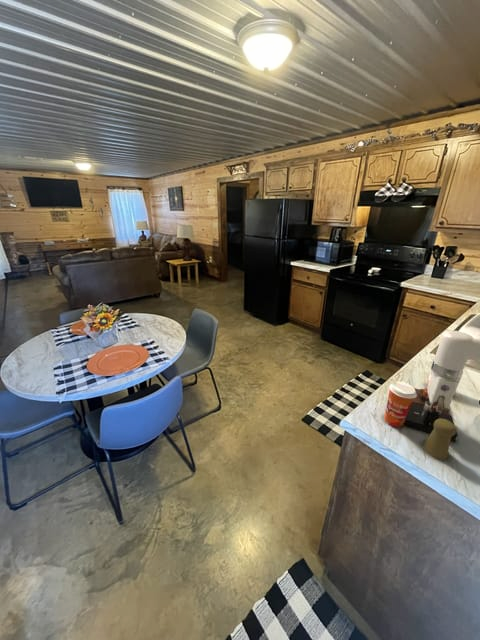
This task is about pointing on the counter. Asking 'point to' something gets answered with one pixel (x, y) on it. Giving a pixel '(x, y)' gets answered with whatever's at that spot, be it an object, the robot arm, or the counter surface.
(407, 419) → the panel
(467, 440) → the counter surface
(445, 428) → the cork
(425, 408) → the knob
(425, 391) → the button
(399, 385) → the paper cup
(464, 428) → the counter surface
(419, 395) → the button block
